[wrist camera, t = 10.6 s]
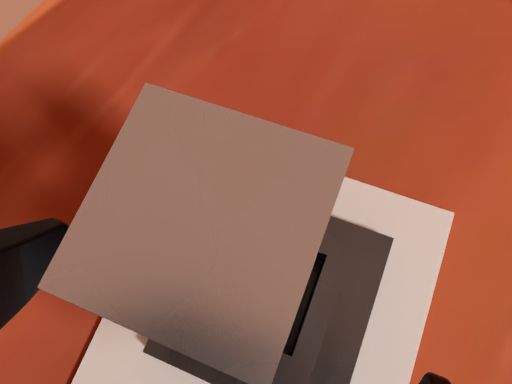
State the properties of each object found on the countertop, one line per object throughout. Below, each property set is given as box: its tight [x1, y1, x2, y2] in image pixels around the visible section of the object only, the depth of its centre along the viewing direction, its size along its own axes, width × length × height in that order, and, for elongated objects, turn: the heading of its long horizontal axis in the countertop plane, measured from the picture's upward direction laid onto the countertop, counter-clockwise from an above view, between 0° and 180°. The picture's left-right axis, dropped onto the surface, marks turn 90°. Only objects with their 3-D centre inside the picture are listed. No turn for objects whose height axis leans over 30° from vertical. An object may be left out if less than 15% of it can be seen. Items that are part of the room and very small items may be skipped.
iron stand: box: [143, 216, 394, 384], centre depth 18 cm, size 10×10×8 cm
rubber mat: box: [71, 177, 454, 384], centre depth 21 cm, size 20×16×1 cm
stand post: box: [37, 83, 354, 384], centre depth 11 cm, size 3×3×12 cm
